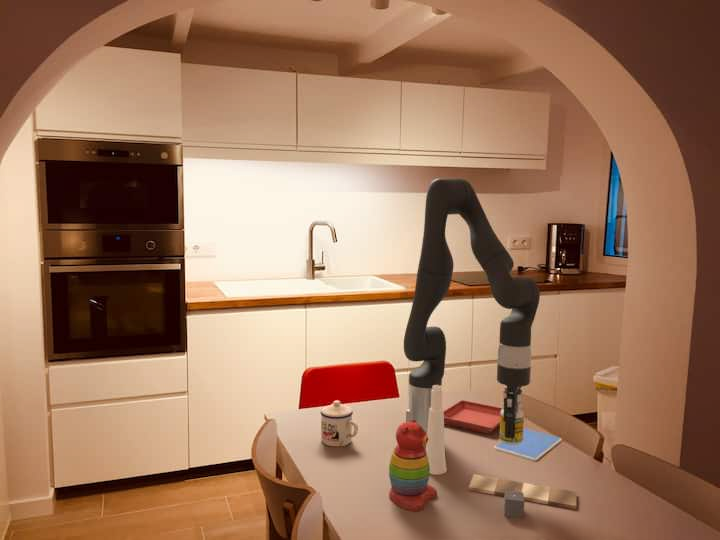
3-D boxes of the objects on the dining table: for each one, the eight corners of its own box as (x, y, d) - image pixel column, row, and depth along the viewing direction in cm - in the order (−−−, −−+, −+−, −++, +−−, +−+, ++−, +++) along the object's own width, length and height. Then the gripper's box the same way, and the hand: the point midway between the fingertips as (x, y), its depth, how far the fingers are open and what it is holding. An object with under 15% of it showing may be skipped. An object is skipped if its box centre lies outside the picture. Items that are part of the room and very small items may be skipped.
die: (504, 516, 128) (504, 498, 127) (503, 507, 132) (504, 490, 131) (523, 518, 127) (524, 501, 126) (522, 509, 131) (523, 492, 130)
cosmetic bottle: (427, 462, 154) (429, 381, 151) (449, 467, 151) (452, 384, 149) (419, 472, 148) (421, 387, 146) (442, 477, 146) (444, 391, 143)
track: (468, 489, 139) (468, 486, 139) (473, 477, 146) (473, 474, 146) (576, 509, 131) (576, 506, 131) (576, 495, 137) (576, 491, 137)
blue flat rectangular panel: (521, 430, 178) (522, 426, 178) (562, 441, 170) (563, 437, 170) (492, 450, 163) (492, 446, 163) (536, 463, 155) (536, 459, 155)
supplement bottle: (510, 434, 142) (511, 396, 141) (527, 442, 137) (529, 402, 136) (494, 439, 139) (496, 400, 138) (511, 447, 134) (513, 406, 133)
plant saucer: (436, 425, 181) (436, 414, 181) (461, 408, 196) (461, 399, 196) (491, 438, 171) (492, 427, 171) (513, 420, 186) (514, 410, 186)
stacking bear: (419, 513, 128) (421, 435, 126) (379, 501, 134) (380, 425, 132) (439, 493, 137) (441, 420, 135) (401, 482, 143) (403, 411, 141)
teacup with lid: (313, 441, 166) (314, 402, 165) (334, 432, 174) (334, 394, 172) (346, 453, 159) (347, 411, 158) (366, 442, 166) (367, 402, 165)
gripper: (528, 372, 128) (524, 447, 130) (533, 357, 141) (530, 424, 143) (493, 368, 131) (490, 441, 132) (501, 353, 144) (498, 420, 146)
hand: (511, 432), depth 138 cm, fingers closed on supplement bottle, 5 cm apart
